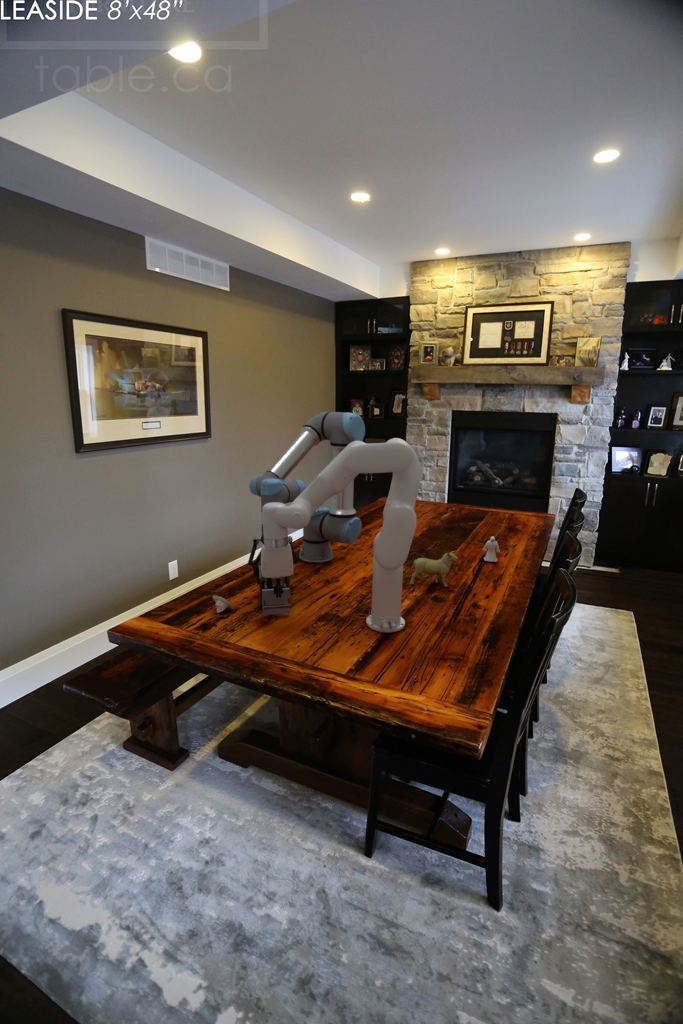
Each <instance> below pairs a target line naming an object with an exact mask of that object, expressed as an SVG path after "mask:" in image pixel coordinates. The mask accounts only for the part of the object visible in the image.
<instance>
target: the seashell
mask: <svg viewBox="0 0 683 1024" xmlns="http://www.w3.org/2000/svg"><path fill="white" fill-rule="evenodd" d="M212 599H213V601H214V602H215V604H214V605H215V608H216V610H215V611H216V613H217V614H219V613H222V612H224V611H225V610H226V609H227V608H229V609H233V610H234V609H235V606H234V604H233V603H231V602H230V601H229V600H227V599H226V598H224V597H223V596H219V595H216V594H215V595H214V594H213V595H212Z"/></svg>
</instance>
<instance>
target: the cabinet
mask: <svg viewBox="0 0 683 1024" xmlns="http://www.w3.org/2000/svg"><path fill="white" fill-rule="evenodd" d="M258 565H259V585H258V595H259V607H260V609H263V603H262V589H264V581H262V580H261V574H262V573H261V564H258ZM275 580H276V581H279V580H280V577H275ZM285 583H286V588H290V583H291V580H290V581H289V579H288V580H287V581H286V582H285Z"/></svg>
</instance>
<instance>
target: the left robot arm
mask: <svg viewBox="0 0 683 1024" xmlns="http://www.w3.org/2000/svg"><path fill="white" fill-rule="evenodd" d="M365 425H366V424H365V422H364V419H363V418H362V417H361V416H360V414H357V413H354V412H350V411H349V412H345V411H344V412H343V411H341V412H340V411H322V412H320V413H318V414H316V415H313V416H312V417H311V418H310V419H309V420H307V421H306V422H305V423H304V424H303V425H302V427H300V429H299V430H298V431H299V432H298V434H297V435H296V437H295V438H294V439H293V440H292V441H291V442H290V443H289V445H288V446H287V447H286V448H285V449H284V450H283V451H282V453H281V454H280V455H279V456H278V457H277V458H276V459H275V460H274V462H272V464H271V465H270V466H269V467H268V468H267V469H266V470H265V472H263V474H262V475H254V476H253V477H252V478H250V481H249V484H248V485H249V487H248V488H249V491H250V493H251V494H252V495H254V496H257V497H260V510H261V512H260V514H261V519H260V520H261V521H260V522H261V537H255V536H254V537H253V538H252V546H251V549H250V554H249V557H248V561H247V565H248V566H249V567H252V568H253V575H254V576H256V585H258V586H259V565H260V564H259V563H261V550H260V551H259V552H258V554H257V556H256V558H255V555H256V551H257V548H258V545H259V544H260V542H261V543H262V545H264V534H263V515H262V508H263V506H264V505H265V504H267V503H271V502H280V503H283V504H285V505H286V504H291V503H292V502H293V501H294V500H295V499H296V498H297V497H298V496H299V495H300V494H301V493H302V492H303V491H304V490H305V489H306V488H307V486H306V484H305V482H304V481H303V480H301V479H293V480H286V479H287V478H288V477H289V475H290V474H291V473H292V472H293V470H294V469H295V468H297V466H298V465H299V464H300V463H301V461H302V460H304V458H305V456H306V455H307V454H309V452H310V451H311V450H312V449H313V447H317V446H318V445H319V444H320V443H321V442H323V441H329V446H330V448H332V450H333V460H334V459H335V458H336V456H337V455H338V454H339V453H340V452H341V451H342V450H343V449H344V448H345V447H346V446H347V445H348V444H350V443H351V442H353V441H362V442H363V441H364V438H365V435H366V426H365ZM354 485H355V478H354V479H353V480H352V481H351V482H350V483H349V484H348V485H347V486H346V487H345V488H344V489H343V490H342V491H341V492H340V493H339V494H337V495H334V496H332V506H331V508H330V507H328V506H320V507H319V508H318V509H317V510H316V511H315V512H314V513H313V515H312V516H311V519H310V522H309V524H308V525H307V526H306V527H304V528H302V534H303V535H302V544H301V546H300V548H299V552H298V553H299V554H298V558H297V554H296V552H295V549H294V545H293V541H290V542H289V544H290V546H291V551H292V558H293V565H295V564H298V562H299V561H300V562H303V563H304V564H308V565H309V564H311V565H323V564H328V563H331V562H332V561H333V560H334V552H333V548H332V545H331V542H330V541H332V542H336V543H340V544H346V545H350V544H353V543H354V542H355V541H356V540H357V539H358V538H359V537H360V535H361V534H360V533H361V532H362V526H363V525H362V524H363V523H362V521H361V519H360V518H359V516H358V517H357V510H356V509H355V508H354V489H355V488H354ZM288 536H289V537H292V536H291V535H288ZM289 581H290V582H291V579H289Z"/></svg>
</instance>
